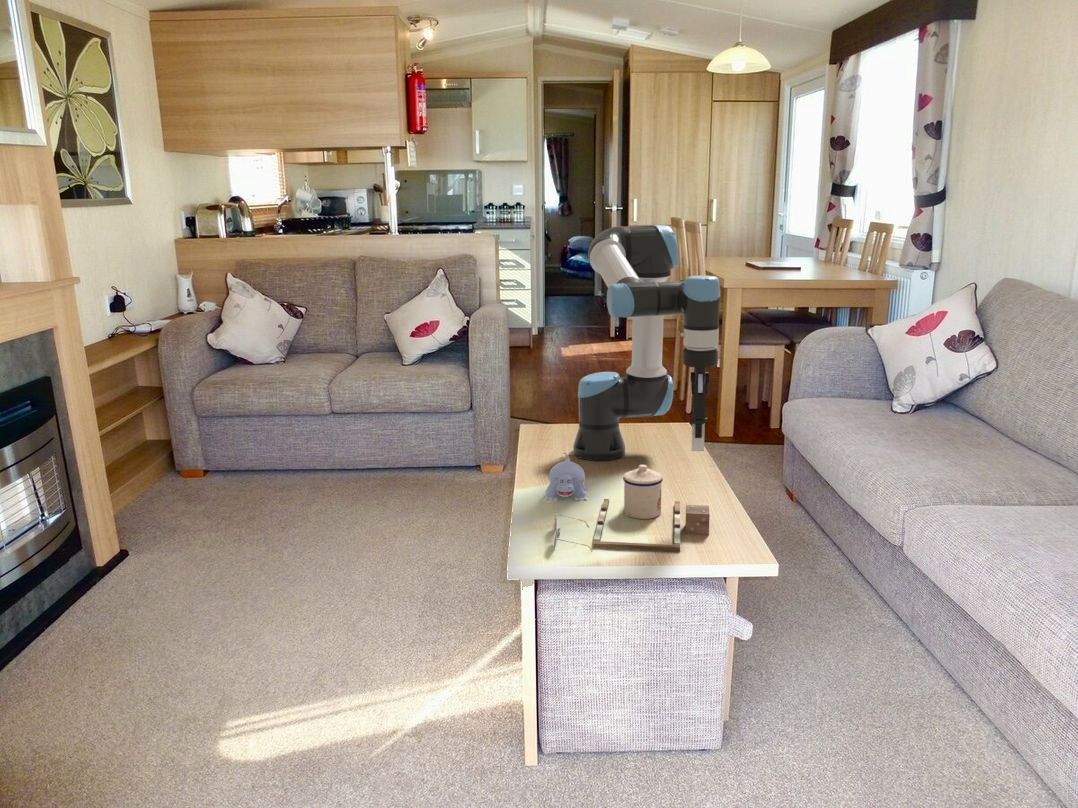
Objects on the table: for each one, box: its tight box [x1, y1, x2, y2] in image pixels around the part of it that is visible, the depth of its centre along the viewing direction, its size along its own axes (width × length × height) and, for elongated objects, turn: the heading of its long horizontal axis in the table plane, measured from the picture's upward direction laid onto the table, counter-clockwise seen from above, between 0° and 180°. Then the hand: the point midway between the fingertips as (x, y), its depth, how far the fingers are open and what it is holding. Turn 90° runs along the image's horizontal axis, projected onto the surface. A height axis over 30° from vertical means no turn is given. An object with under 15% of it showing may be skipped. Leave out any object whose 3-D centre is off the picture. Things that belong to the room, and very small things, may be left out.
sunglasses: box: [552, 511, 593, 553], centre depth 173 cm, size 14×8×5 cm, turn 0°
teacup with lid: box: [622, 464, 663, 520], centre depth 187 cm, size 12×9×12 cm
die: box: [685, 504, 711, 536], centre depth 176 cm, size 5×5×5 cm
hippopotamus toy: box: [544, 452, 589, 502], centre depth 197 cm, size 11×15×10 cm
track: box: [592, 498, 681, 553], centre depth 180 cm, size 26×18×2 cm
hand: (697, 450), depth 180 cm, fingers closed
